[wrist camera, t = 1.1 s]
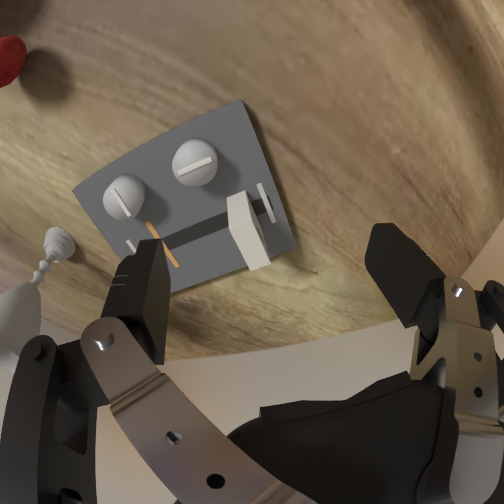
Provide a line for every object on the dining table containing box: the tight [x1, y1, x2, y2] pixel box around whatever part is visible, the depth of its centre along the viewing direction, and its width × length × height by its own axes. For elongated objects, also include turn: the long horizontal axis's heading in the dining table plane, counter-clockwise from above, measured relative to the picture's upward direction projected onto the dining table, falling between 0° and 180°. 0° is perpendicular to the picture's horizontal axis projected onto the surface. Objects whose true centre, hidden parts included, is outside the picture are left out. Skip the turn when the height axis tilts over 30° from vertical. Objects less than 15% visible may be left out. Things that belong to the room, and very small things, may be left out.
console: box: [72, 99, 297, 293], centre depth 28 cm, size 20×18×4 cm
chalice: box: [0, 227, 76, 373], centre depth 22 cm, size 7×7×18 cm
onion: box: [0, 36, 27, 88], centre depth 11 cm, size 6×6×8 cm
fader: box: [227, 191, 271, 271], centre depth 26 cm, size 2×5×6 cm, turn 22°
